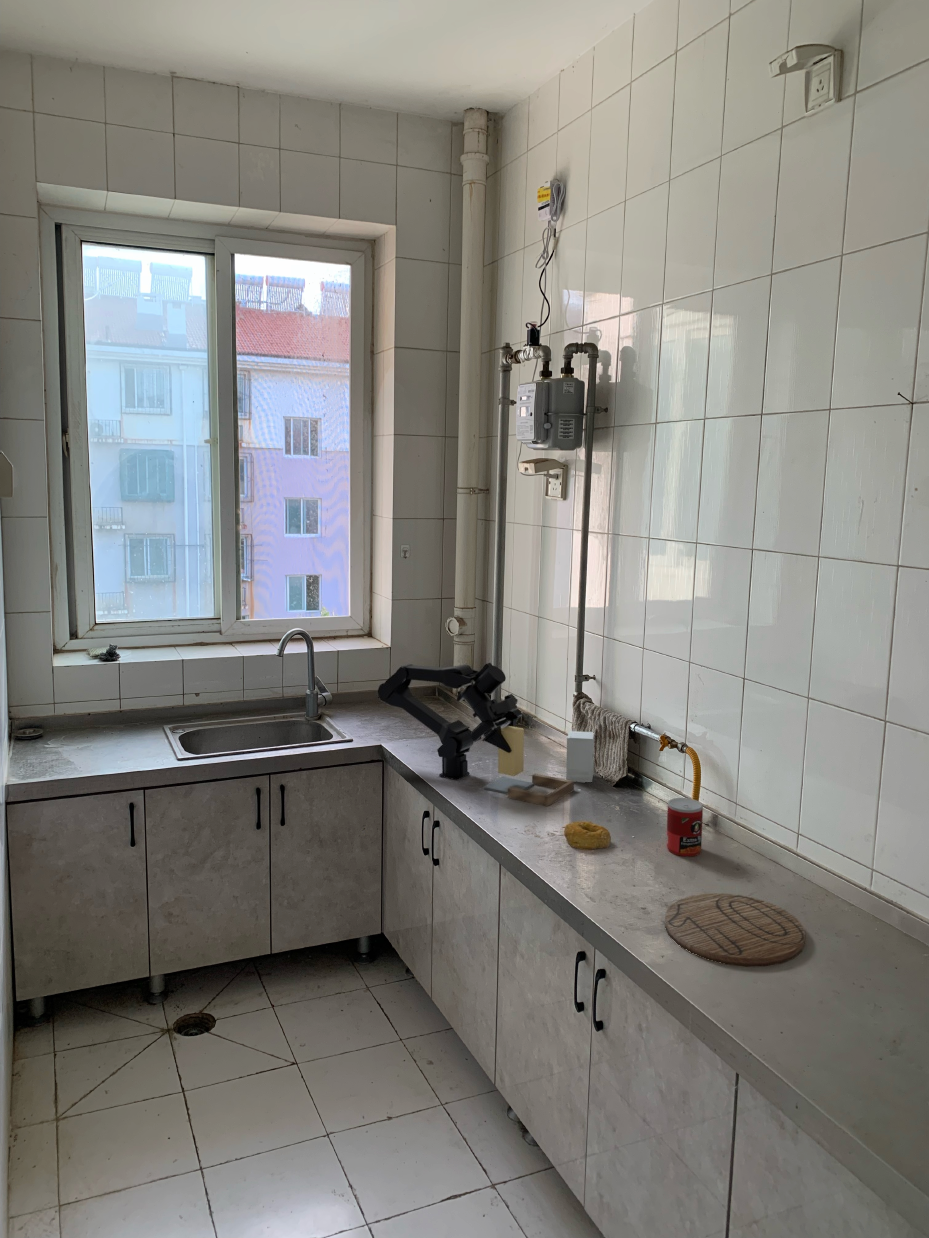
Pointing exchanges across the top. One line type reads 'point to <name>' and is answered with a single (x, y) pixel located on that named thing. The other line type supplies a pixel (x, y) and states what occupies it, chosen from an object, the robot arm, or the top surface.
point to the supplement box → (580, 756)
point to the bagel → (587, 835)
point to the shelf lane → (538, 798)
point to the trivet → (735, 929)
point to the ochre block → (512, 752)
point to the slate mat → (507, 785)
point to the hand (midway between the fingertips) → (515, 749)
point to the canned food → (684, 826)
